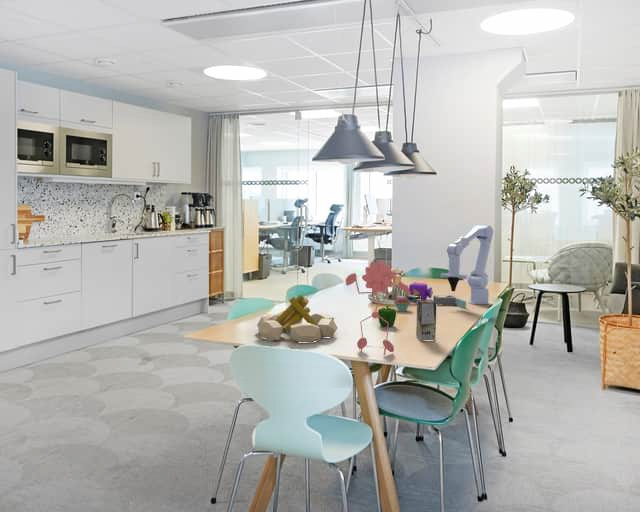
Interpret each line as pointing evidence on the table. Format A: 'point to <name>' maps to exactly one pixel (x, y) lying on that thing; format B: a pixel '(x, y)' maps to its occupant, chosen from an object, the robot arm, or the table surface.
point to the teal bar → (460, 303)
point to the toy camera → (420, 290)
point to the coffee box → (426, 320)
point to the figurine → (377, 280)
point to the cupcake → (402, 303)
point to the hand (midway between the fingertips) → (453, 291)
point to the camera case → (445, 300)
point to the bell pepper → (387, 316)
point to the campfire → (297, 323)
